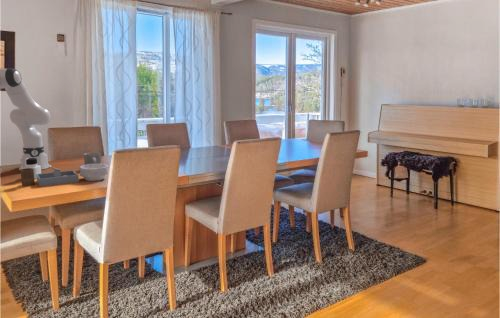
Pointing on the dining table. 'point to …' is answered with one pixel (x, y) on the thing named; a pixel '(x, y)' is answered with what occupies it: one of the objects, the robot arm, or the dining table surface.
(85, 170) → the paper bowls
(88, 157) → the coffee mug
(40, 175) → the tray
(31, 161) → the medicine bottle
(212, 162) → the dining table surface
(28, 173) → the sleeve
